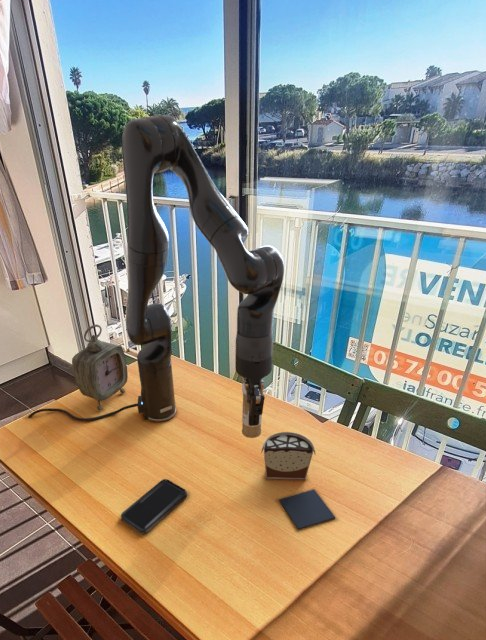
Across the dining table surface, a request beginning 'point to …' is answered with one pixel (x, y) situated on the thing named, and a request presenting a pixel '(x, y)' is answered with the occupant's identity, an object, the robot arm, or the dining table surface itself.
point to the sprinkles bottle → (246, 428)
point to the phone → (154, 506)
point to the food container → (287, 456)
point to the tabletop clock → (100, 369)
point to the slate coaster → (306, 509)
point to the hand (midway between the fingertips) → (251, 417)
